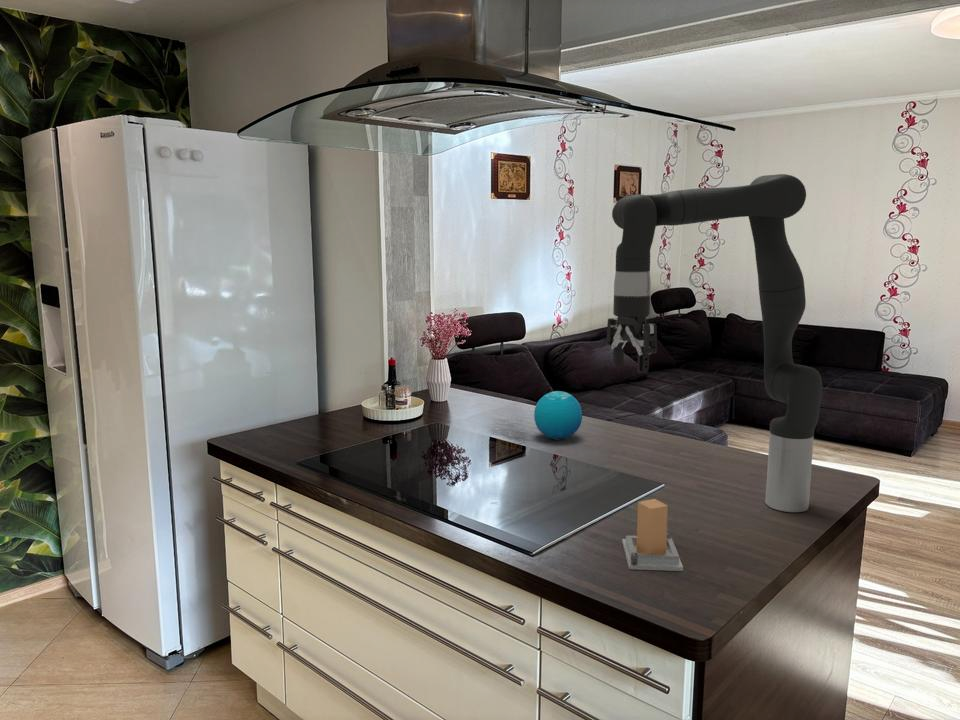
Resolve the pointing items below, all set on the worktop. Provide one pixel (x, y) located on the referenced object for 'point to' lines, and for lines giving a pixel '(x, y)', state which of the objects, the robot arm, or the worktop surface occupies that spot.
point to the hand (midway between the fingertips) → (630, 369)
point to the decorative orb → (558, 415)
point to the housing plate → (651, 556)
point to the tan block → (652, 527)
